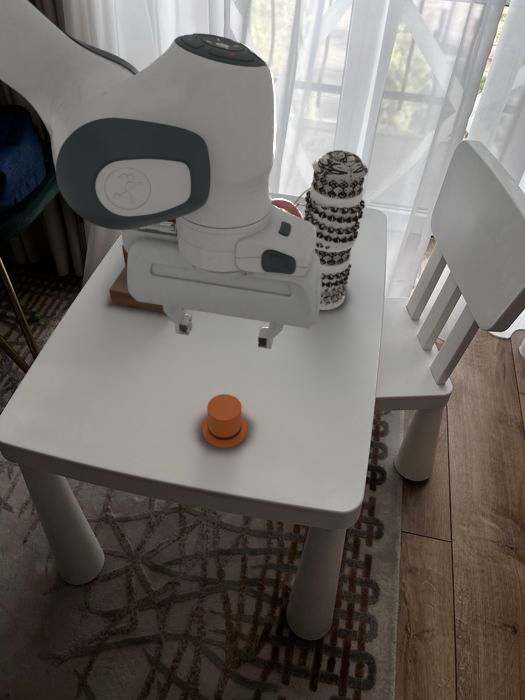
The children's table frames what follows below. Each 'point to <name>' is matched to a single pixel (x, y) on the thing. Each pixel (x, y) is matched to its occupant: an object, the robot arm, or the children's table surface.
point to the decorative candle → (335, 218)
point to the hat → (224, 422)
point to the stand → (122, 294)
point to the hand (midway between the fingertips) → (224, 337)
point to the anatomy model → (289, 206)
